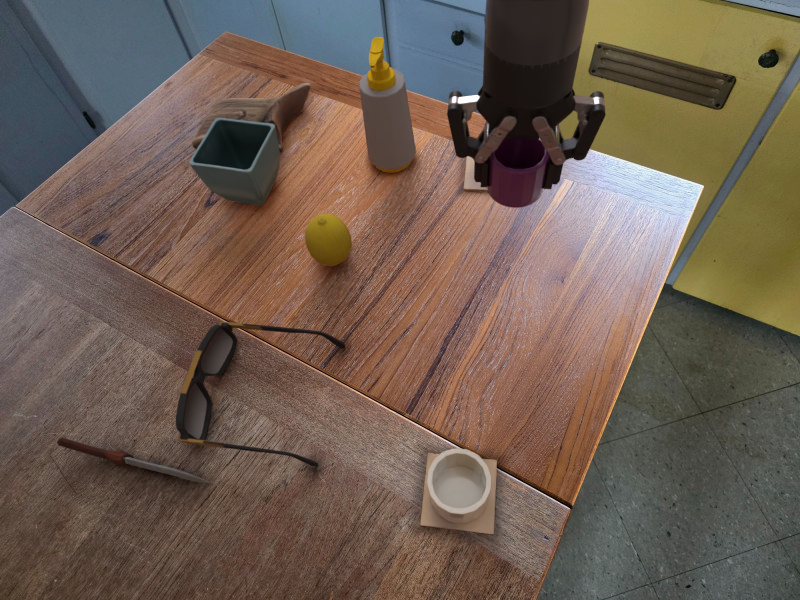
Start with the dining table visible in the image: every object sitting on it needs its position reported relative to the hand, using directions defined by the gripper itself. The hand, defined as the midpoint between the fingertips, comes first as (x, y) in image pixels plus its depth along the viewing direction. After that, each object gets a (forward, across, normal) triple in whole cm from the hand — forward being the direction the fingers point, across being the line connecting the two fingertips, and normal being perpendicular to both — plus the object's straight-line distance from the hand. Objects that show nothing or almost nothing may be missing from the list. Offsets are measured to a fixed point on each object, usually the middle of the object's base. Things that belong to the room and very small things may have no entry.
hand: (515, 181), depth 57 cm
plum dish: (+1, 0, 0) cm, 1 cm away
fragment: (+13, -39, +22) cm, 47 cm away
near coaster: (+13, -4, -29) cm, 32 cm away
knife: (+13, -38, -30) cm, 50 cm away
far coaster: (+13, -3, +14) cm, 20 cm away
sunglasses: (+13, -26, -21) cm, 36 cm away
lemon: (+13, -22, -2) cm, 26 cm away
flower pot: (+13, -36, +9) cm, 39 cm away
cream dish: (+13, -4, -29) cm, 32 cm away
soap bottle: (+13, -17, +16) cm, 27 cm away
